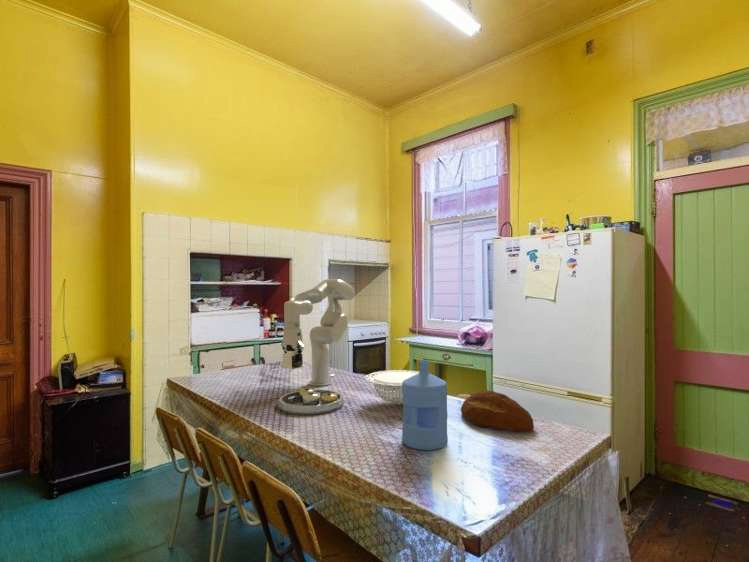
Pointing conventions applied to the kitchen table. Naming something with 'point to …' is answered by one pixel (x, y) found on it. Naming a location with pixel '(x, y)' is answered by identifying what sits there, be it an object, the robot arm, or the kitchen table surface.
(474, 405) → the bread
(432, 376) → the water jug
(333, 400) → the carrier
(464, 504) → the kitchen table surface
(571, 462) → the kitchen table surface
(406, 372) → the colander
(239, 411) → the kitchen table surface
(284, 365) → the medicine bottle
